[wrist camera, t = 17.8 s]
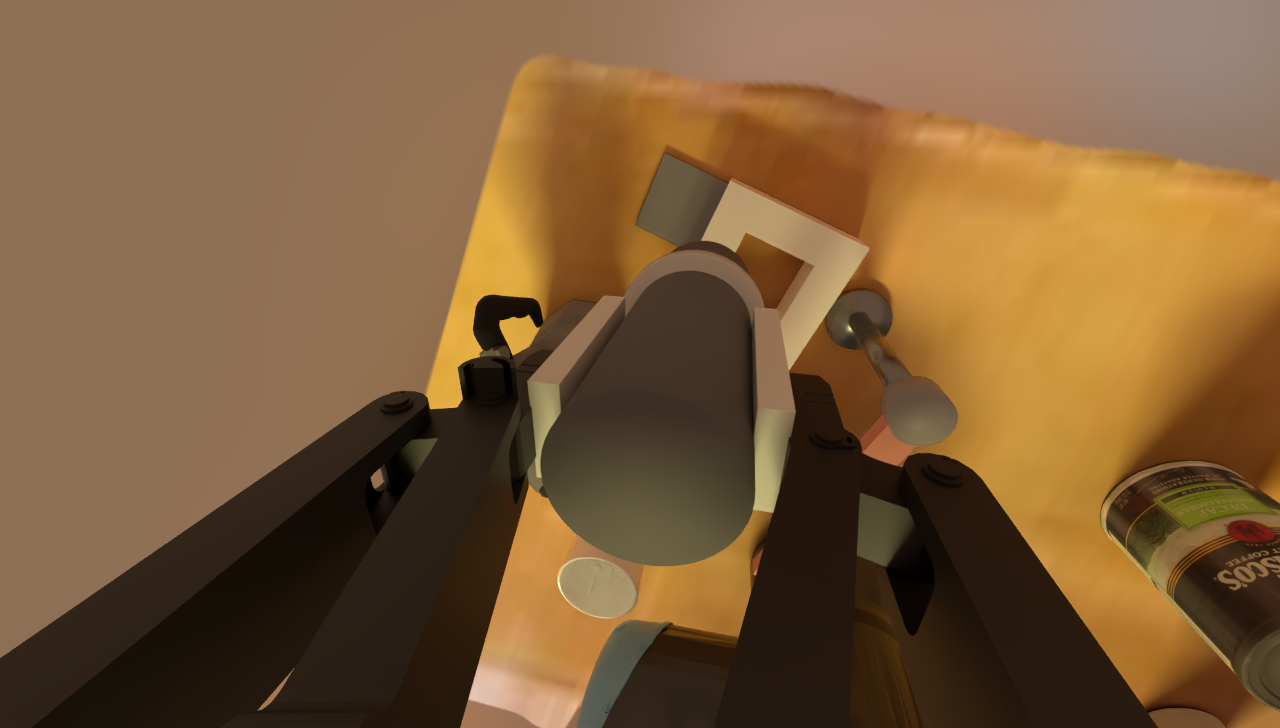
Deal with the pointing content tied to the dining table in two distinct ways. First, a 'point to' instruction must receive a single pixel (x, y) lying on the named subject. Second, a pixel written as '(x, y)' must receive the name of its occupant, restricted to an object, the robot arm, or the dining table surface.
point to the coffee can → (1209, 559)
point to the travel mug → (1184, 718)
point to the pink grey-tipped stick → (906, 422)
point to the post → (866, 330)
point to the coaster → (680, 202)
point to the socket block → (801, 236)
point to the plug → (664, 417)
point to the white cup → (599, 581)
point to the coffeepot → (546, 338)
